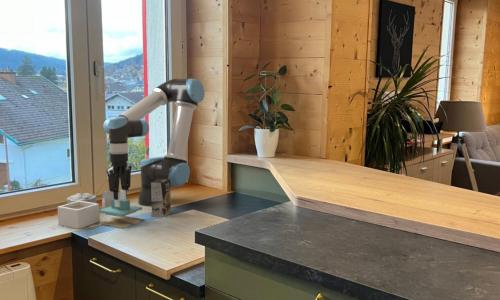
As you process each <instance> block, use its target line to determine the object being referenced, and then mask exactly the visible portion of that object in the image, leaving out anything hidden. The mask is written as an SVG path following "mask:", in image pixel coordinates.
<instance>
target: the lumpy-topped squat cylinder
mask: <svg viewBox="0 0 500 300" xmlns="http://www.w3.org/2000/svg"><path fill="white" fill-rule="evenodd" d="M76 201H84V202H91V203H97V195H96V194H92V193H89V192H85V193H83V194H82V193H79V192H78V193H75V194H72V195H70V196H68V197H67V198H66V204H69V203H73V202H76Z"/></svg>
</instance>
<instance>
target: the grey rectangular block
mask: <svg viewBox="0 0 500 300" xmlns="http://www.w3.org/2000/svg"><path fill="white" fill-rule="evenodd" d="M111 199H114V195H113V192H111V191H109V190H104V191H102V197H101V209H104V208H107V207H111Z"/></svg>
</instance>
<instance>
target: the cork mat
mask: <svg viewBox="0 0 500 300" xmlns="http://www.w3.org/2000/svg"><path fill="white" fill-rule="evenodd" d="M143 221H145V219H144V218H139V217H134V216H129V215H126V216H123V217H118V216H114V217H112V218H109V219H106V220H102V221H100V222H97V224H98V225H100V226H101V225H102V226H106V227H113V228H118V229H124V228H127V227H130V226H132V225H136V224H138V223H140V222H143Z"/></svg>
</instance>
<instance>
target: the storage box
mask: <svg viewBox="0 0 500 300" xmlns="http://www.w3.org/2000/svg"><path fill="white" fill-rule="evenodd" d="M99 210H100V204H99V203H97V202H96V203H91V202H84V201H76V202H73V203H69V204H67V203H66V204H63V205H59V206H57V222H58V226H63V227H67V228H73V229H77V230H78V229H82V228H85V227H87V226H90V225H94V224H96V223H97V224H98V223H99V222H101V220H100V219H101V218H100V212H99Z"/></svg>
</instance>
